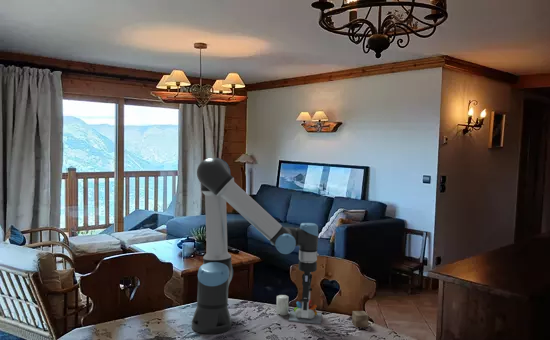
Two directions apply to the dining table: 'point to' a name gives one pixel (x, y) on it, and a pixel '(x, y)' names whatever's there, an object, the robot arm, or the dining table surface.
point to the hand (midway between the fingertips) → (305, 311)
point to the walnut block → (360, 318)
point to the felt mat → (295, 319)
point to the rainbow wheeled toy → (311, 310)
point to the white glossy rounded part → (282, 305)
